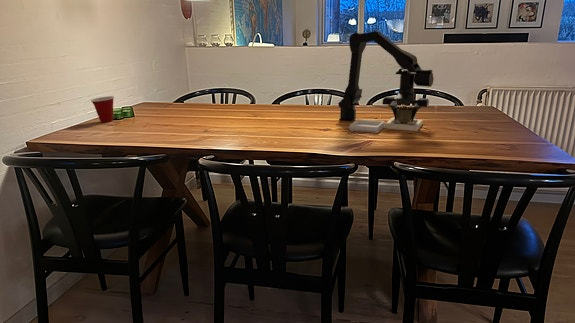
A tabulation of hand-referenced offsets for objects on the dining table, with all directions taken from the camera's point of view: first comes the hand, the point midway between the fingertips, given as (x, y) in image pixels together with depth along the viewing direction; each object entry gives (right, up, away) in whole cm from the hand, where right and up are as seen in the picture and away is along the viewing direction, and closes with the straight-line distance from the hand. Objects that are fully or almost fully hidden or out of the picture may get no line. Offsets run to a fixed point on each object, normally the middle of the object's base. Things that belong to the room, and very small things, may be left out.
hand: (404, 121), depth 174 cm
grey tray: (-17, -4, -2) cm, 17 cm away
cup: (0, -2, +1) cm, 2 cm away
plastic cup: (-143, +2, +25) cm, 145 cm away
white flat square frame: (0, -2, +1) cm, 2 cm away
